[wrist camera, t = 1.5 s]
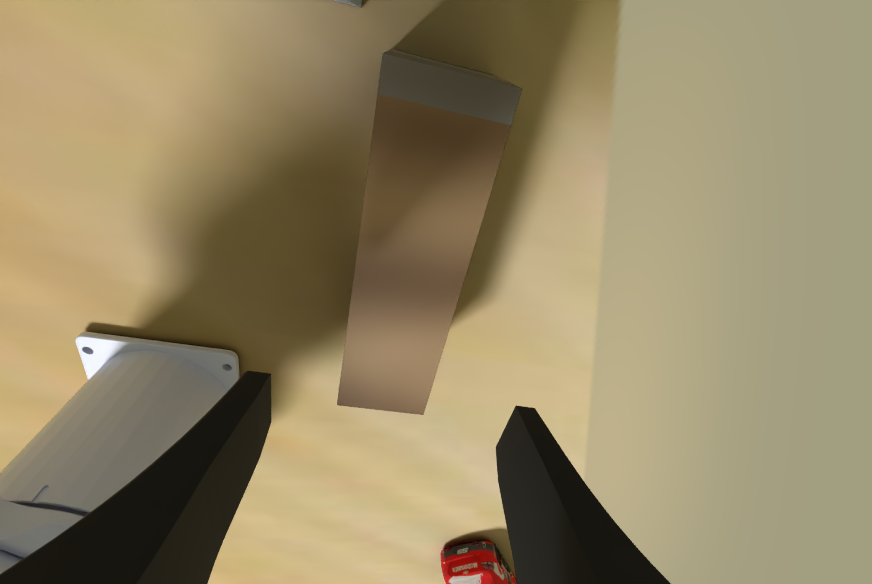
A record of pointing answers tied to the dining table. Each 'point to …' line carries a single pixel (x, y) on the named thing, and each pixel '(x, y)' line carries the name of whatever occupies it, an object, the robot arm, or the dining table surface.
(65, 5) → the dining table surface
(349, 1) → the pale blue bench
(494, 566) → the race car
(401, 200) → the brown wooden block
